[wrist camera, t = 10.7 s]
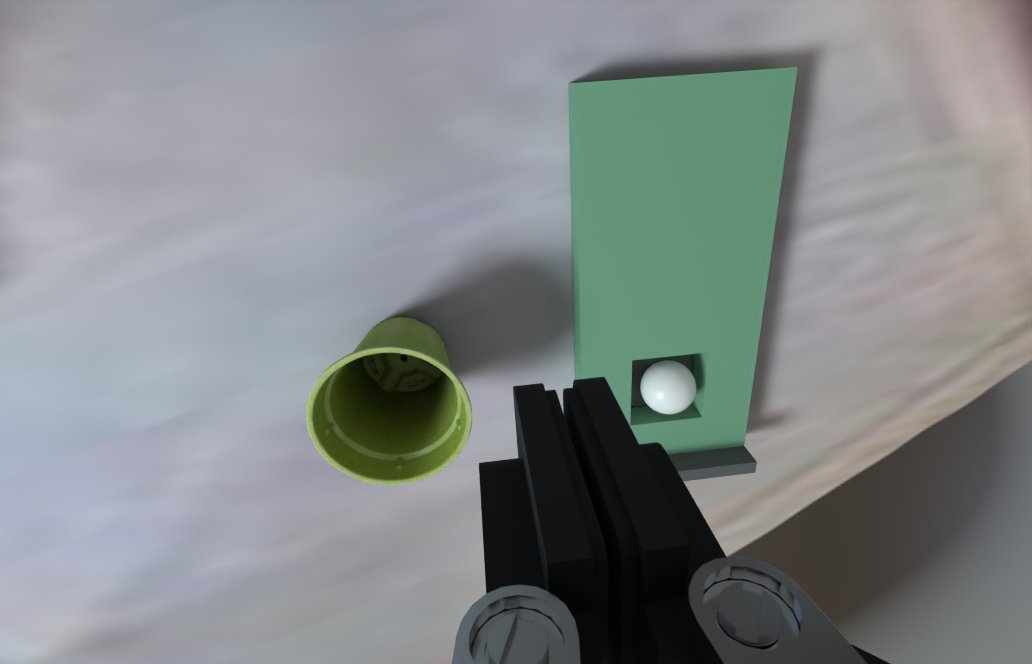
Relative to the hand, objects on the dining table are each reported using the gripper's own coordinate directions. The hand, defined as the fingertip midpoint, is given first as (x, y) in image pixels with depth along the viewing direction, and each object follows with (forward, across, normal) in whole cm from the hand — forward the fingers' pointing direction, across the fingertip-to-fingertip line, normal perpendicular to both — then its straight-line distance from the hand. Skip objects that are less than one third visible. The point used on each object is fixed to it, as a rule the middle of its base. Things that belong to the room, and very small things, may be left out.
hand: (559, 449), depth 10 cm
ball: (+25, -12, +15) cm, 32 cm away
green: (+27, -12, +8) cm, 31 cm away
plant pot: (+27, +7, +11) cm, 30 cm away
